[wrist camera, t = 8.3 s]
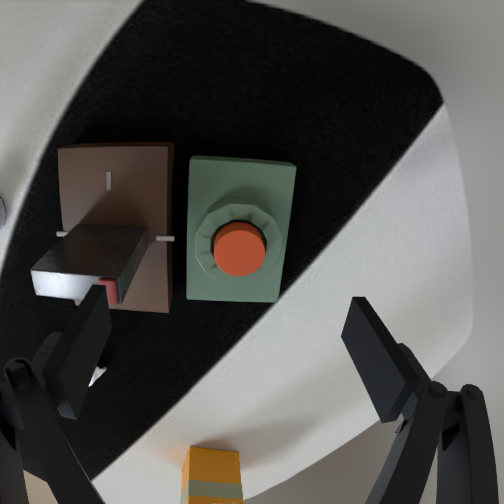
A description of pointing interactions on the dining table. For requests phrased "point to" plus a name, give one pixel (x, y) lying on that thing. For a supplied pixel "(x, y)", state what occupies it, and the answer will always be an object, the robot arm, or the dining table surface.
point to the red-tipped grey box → (91, 262)
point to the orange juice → (211, 477)
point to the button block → (237, 210)
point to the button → (239, 249)
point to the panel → (125, 206)
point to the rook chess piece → (2, 214)
